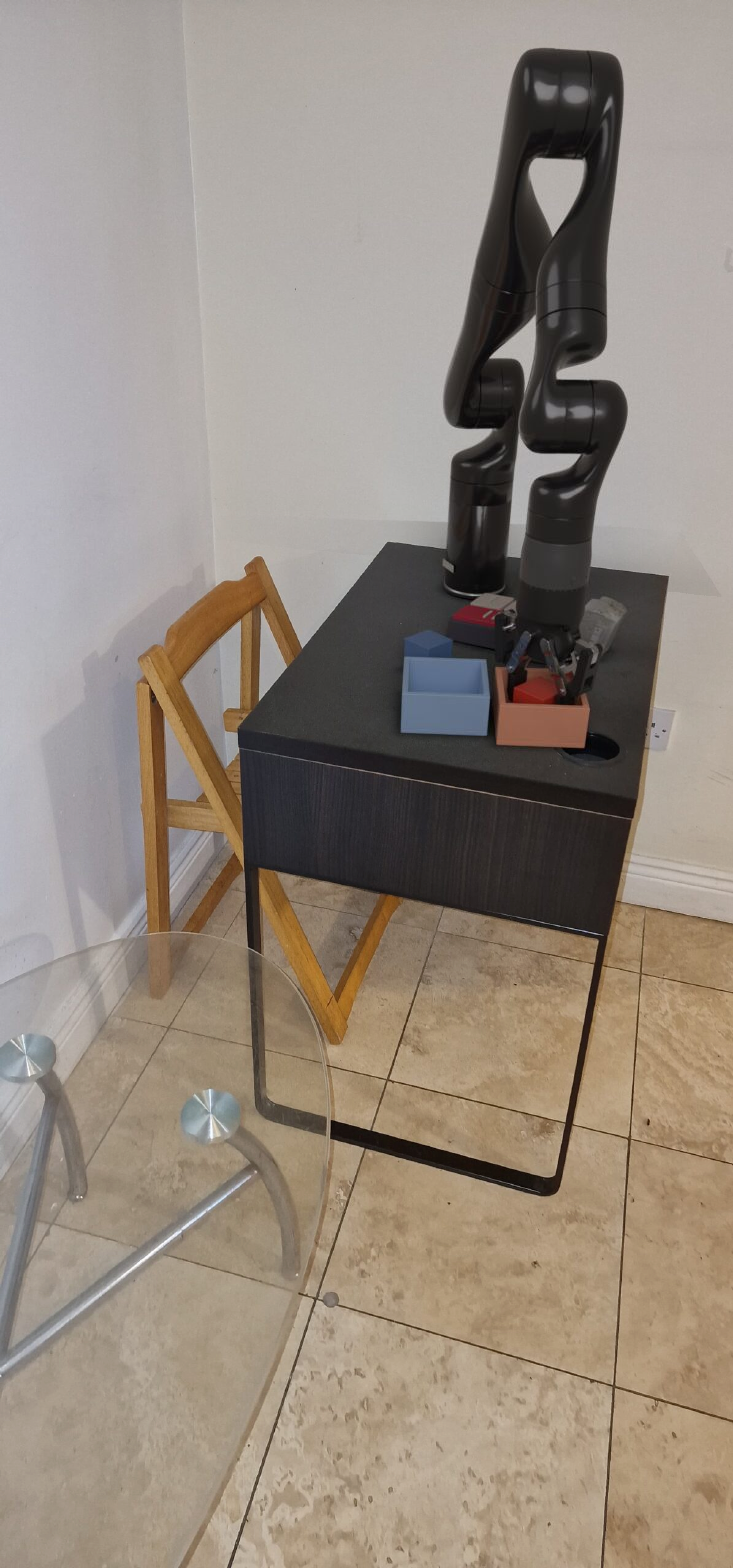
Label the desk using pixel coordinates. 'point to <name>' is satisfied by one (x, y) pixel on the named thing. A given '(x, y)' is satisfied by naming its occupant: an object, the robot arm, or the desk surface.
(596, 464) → the robot arm
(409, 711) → the blue bin
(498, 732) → the red bin
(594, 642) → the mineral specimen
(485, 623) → the grey tray with pads
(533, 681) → the red block
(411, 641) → the blue block
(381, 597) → the desk surface
